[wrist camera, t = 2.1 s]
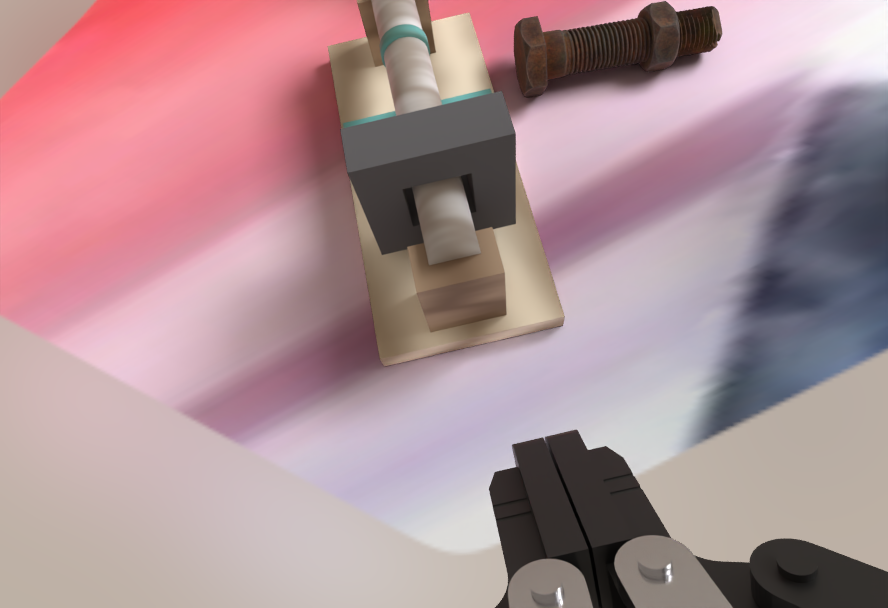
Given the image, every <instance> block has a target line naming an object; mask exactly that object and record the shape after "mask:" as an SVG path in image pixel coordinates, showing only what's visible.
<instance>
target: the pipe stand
mask: <svg viewBox="0 0 888 608" xmlns="http://www.w3.org/2000/svg"><path fill="white" fill-rule="evenodd" d="M357 3H358V7H359V11H360V14H361V18H362V21H363V25H364V29H365V32H366V36H367V37H364V38H360V39H356V40H352V41H348V42H343V43H339V44H335V45H331V46H328V51H329V57H330V63H331V69H332V75H333V81H334V87H335V93H336V99H337V105H338V111H339V117H340V123H341V129H342V128H346V127H351V126H355V125H359V124H363V123H368V122H372V121H376V120H380V119H384V118H389V117H393V116H397V115H401V114H406V113H410V112H414V111H418V110H422V109H427V108H431V107H435V106H439V105H444V104H448V103H452V102H456V101H461V100H465V99H469V98H473V97H477V96H482V95H486V94H490V93H494V90H493V87H492V83H491V80H490V77H489V74H488V71H487V68H486V64H485V61H484V58H483V55H482V52H481V48H480V45H479V42H478V39H477V36H476V32H475V29H474V26H473V23H472V20H471V17H470V13H465V14H460V15H456V16H452V17H448V18H444V19H440V20H435V21H431V17H430V11H429V4H428V0H357ZM350 183H351V189H352V195H353V201H354V207H355V213H356V219H357V225H358V231H359V237H360V243H361V249H362V255H363V261H364V267H365V273H366V279H367V285H368V291H369V297H370V303H371V309H372V315H373V321H374V328H375V334H376V340H377V346H378V352H379V358H380V360H381V362H382V363H383V365H384V366H389V365H393V364H398V363H402V362H406V361H411V360H415V359H419V358H424V357H428V356H432V355H437V354H441V353H445V352H450V351H454V350H458V349H463V348H467V347H471V346H476V345H480V344H485V343H489V342H493V341H498V340H502V339H506V338H511V337H515V336H519V335H524V334H528V333H532V332H537V331H541V330H545V329H550V328H554V327H558V326H563V323H564V317H565V316H564V313H563V310H562V307H561V304H560V300H559V297H558V294H557V291H556V288H555V284H554V281H553V278H552V275H551V272H550V268H549V265H548V262H547V259H546V256H545V253H544V249H543V246H542V243H541V240H540V237H539V233H538V230H537V227H536V224H535V221H534V217H533V214H532V211H531V208H530V205H529V201H528V198H527V195H526V192H525V189H524V186H523V182H522V179H521V176H520V173H519V170H518V166H517V163H516V224H514V225H509V226H505V227H501V228H496V229H493V228H492V227H490V228H486V229H482V230H477V231H475V228H474V224H473V220H472V217H471V213H470V209H469V205H468V201H467V198H466V194H465V190H464V186H463V182H462V178H461V176H458V177H453V178H449V179H445V180H440V181H436V182H432V183H428V184H423V185H419V186H415V187H412V190H413V194H414V199H415V203H416V208H417V213H418V217H419V222H420V226H421V231H422V236H423V240H424V243H422V244H417V245H413V246H409V247H407V249H406V250H402V251H398V252H393V253H389V254H385V255H382V254H381V251H380V249H379V247H378V244H377V242H376V239H375V237H374V235H373V232H372V230H371V228H370V225H369V223H368V220H367V218H366V216H365V213H364V211H363V209H362V206H361V204H360V201H359V199H358V197H357V194H356V192H355V189H354V187H353V185H352V182H351V180H350Z"/></svg>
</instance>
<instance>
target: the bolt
mask: <svg viewBox="0 0 888 608" xmlns="http://www.w3.org/2000/svg"><path fill="white" fill-rule="evenodd" d="M721 36H722V28H721V22H720V17H719V12H718V10H717V9H716V8H715V7H713V6H710V7H708V6H707V7H705V8H704V7H702V8H698V9H693V10H688V11H687V10H685V11H679V12H676V11H675V10H674V8H673V7H672V6H671V5H670V4H668V3H667V2H666V1H663V2H657V3H651V4H650V5H648V6H646V7H645V8H644V9H643V10H641V11H640V13H639V15H638V18H635V19H631V20H626V21H624V20H622V21H621V22H620V21H618V22H613V23H608V24H607V23H604V24H600V25H595V26H591V27H589V26H587V27H586V28H585V27H582V28H577V29H576V28H575V29H573V30H572V29H569V30H568V31H567V30H563V31H561V30H554V31H548V32H542V29H541V25H540V22H539V19H538V16H535V17H530V18H524V19H522V20H520V21H519V22H518V23H517V24H516V26H515V31H514V57H515V65H516V72H517V78H518V82H519V86H520V89H521V91H522V93H523V94H524V95H525V97H531V96H537V95H542V93H543V92H544V90H545V89H546V87H547V86H548V81H547V80H548V79H554V78H560V77H564V76H565V75H568V74H573V73H574V74H576V73H577V72H578V73H581V71H582V72H585V71H587V72H589V71H590V70H591V71H593V70H598V69H603V68H604V69H606V68H611V67H616V66H617V67H619V66H620V65H621V66H624V65H629V64H631V65H632V64H633V63H634V64H637V63H640V66H641V67H642V68H643V69H644V70H645V71H646V72H651V71H657V70H663V69H665V68H667V67H669V66H670V65H672V64H673V63H674V61H675V59H676V57H680V56H681V55H682V56H684V55H689V54H697V53H702V52H703V53H705V52H710V51H712V50H713V49H714V48H715V47H717V45H718V44H717V41H720V38H721Z"/></svg>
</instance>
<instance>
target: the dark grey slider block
mask: <svg viewBox="0 0 888 608" xmlns="http://www.w3.org/2000/svg"><path fill="white" fill-rule="evenodd" d="M340 130H341V136H342V142H343V148H344V155H345V161H346V167H347V173H348V175H349V178H350V180H351V182H352V185H353V187H354V189H355V192H356V194H357V197H358V199H359V201H360V204H361V206H362V209H363V211H364V213H365V216H366V218H367V220H368V223H369V225H370V228H371V230H372V232H373V235H374V237H375V239H376V242H377V244H378V247H379V249H380V251H381V254H382V255H385V254H389V253H393V252H398V251H402V250H406V249H407V247H409V246H413V245H417V244H422V243H424V240H423V236H422V231H421V226H420V222H419V217H418V213H417V208H416V203H415V199H414V194H413V190H412V187H415V186H419V185H423V184H428V183H432V182H436V181H440V180H445V179H449V178H453V177H458V176H461V178H462V182H463V186H464V190H465V194H466V198H467V201H468V205H469V209H470V213H471V217H472V220H473V224H474V228H475V231H477V230H482V229H486V228H490V227H492V228H493V229H496V228H501V227H505V226H509V225H514V224H516V134H515V130H514V127H513V124H512V121H511V118H510V115H509V112H508V108H507V105H506V102H505V99H504V96H503V93H502V91H499V92H494V93H490V94H486V95H482V96H477V97H473V98H469V99H465V100H461V101H456V102H452V103H448V104H444V105H439V106H435V107H431V108H427V109H422V110H418V111H414V112H410V113H406V114H401V115H397V116H393V117H389V118H384V119H380V120H376V121H372V122H368V123H363V124H359V125H355V126H351V127H346V128H342V129H340Z"/></svg>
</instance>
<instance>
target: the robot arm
mask: <svg viewBox="0 0 888 608" xmlns="http://www.w3.org/2000/svg"><path fill="white" fill-rule="evenodd" d="M512 449H513V454H514V458H515V463H516V467H515V468H510V469H506V470H502V471H497V472H495V473H494V476H493V479H492V482H491V485H490V487H489V491H490V496H491V500H492V505H493V509H494V514H495V518H496V523H497V527H498V532H499V536H500V541H501V546H502V550H503V555H504V559H505V564H506V568H507V573H508V586H507V590H506V593H505V595H504V597H503V598H502V600H501V601H500V603H499V604H498V605H497V606H496V607H495V608H888V572H886V571H884V570H881V569H878V568H876V567H873V566H871V565H868V564H865V563H863V562H860V561H858V560H854V559H852V558H850V557H847V556H844V555H842V554H839V553H836V552H834V551H831V550H828V549H826V548H823V547H820V546H818V545H815V544H812V543H809V542H806V541H802V540H797V539H775V540H771V541H768V542H765V543H763V544H761V545H760V546H758V547H757V548H756V549H755V550H754V551H753V553H752V555H751V557H750V563H744V562H721V561H711V560H707V559H703V558H700V557H697V556H695V555H693V553H692V552H691V551H690V550H689V549H688V548H687V547H686V546H685V545H683V544H682V543H680V542H678V541H676V540H674V539H672V538H671V537H670V535H669V534H668V532H667V530H666V529H665V527H664V525H663V524H662V522H661V520H660V518H659V517H658V515H657V513H656V512H655V510H654V509H653V507H652V505H651V503H650V502H649V500H648V498H647V497H646V495H645V494H644V492H643V490H642V489H641V488H640V485H639V483H638V482H637V480H636V478H635V477H634V476H633V474H632V472H631V470H630V468H629V467H628V465H627V463H626V462H625V460H624V458H623V457H621V456H620V455H618V454H617V453H615V452H614V451H612V450H611V449H609V448H608V447H606V446H605V447H601V448H596V449H592V450H587V448H586V446H585V444H584V442H583V440H582V438H581V436H580V434H579V432H578V431H577V430H573V431H568V432H564V433H560V434H555V435H551V436H547V437H545V441H544V438H539V439H534V440H530V441H526V442H521V443H517V444H513V445H512Z"/></svg>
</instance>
